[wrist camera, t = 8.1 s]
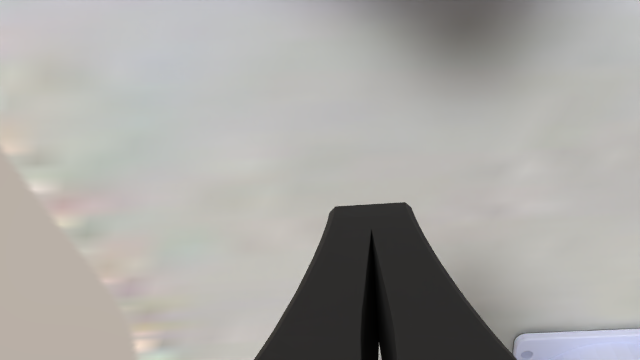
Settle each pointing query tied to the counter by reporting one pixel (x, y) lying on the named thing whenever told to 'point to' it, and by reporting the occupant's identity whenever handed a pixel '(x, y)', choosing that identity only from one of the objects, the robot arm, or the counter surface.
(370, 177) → the counter surface
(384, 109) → the counter surface
